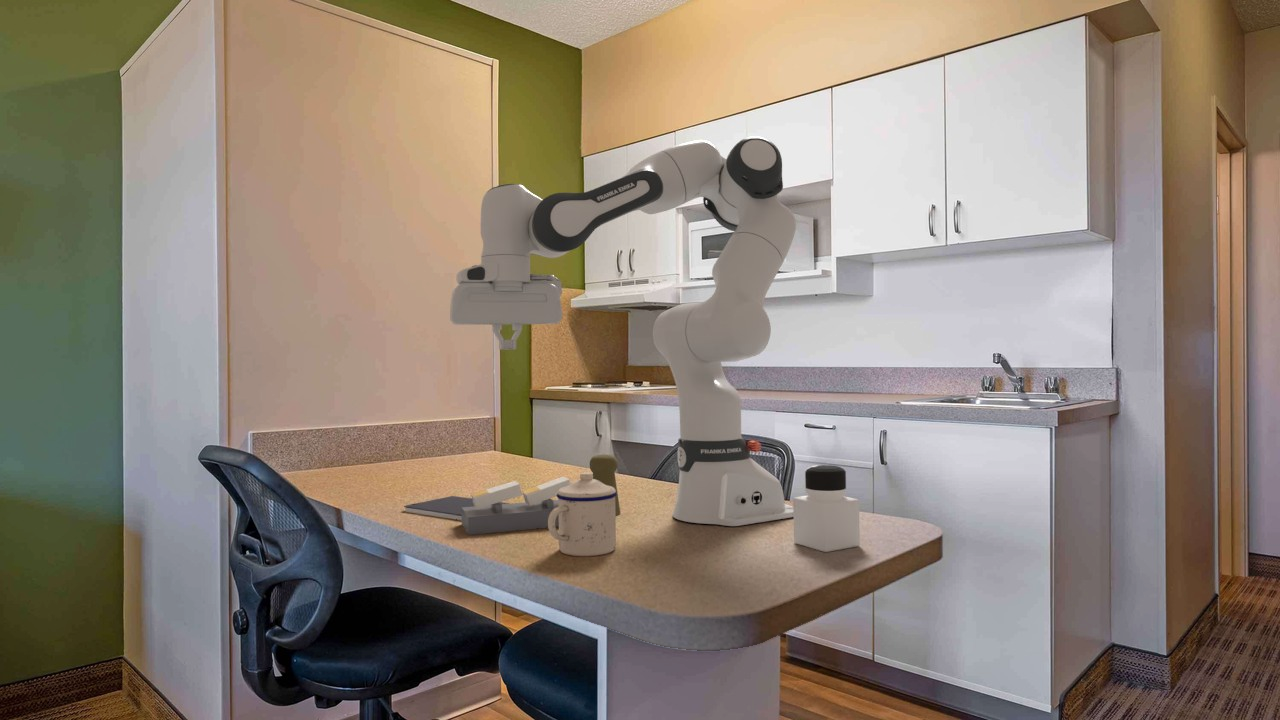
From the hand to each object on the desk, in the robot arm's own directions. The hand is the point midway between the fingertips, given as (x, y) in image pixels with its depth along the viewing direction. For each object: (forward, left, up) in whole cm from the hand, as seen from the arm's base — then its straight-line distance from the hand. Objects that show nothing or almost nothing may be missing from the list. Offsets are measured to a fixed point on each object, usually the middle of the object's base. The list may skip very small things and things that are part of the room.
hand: (507, 349), depth 142 cm
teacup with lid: (-5, +29, -31) cm, 43 cm away
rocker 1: (+3, +6, -25) cm, 26 cm away
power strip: (-4, +6, -31) cm, 32 cm away
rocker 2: (-6, +6, -26) cm, 28 cm away
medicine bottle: (-41, +40, -31) cm, 65 cm away
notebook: (+7, -11, -32) cm, 34 cm away
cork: (-17, +3, -31) cm, 36 cm away
